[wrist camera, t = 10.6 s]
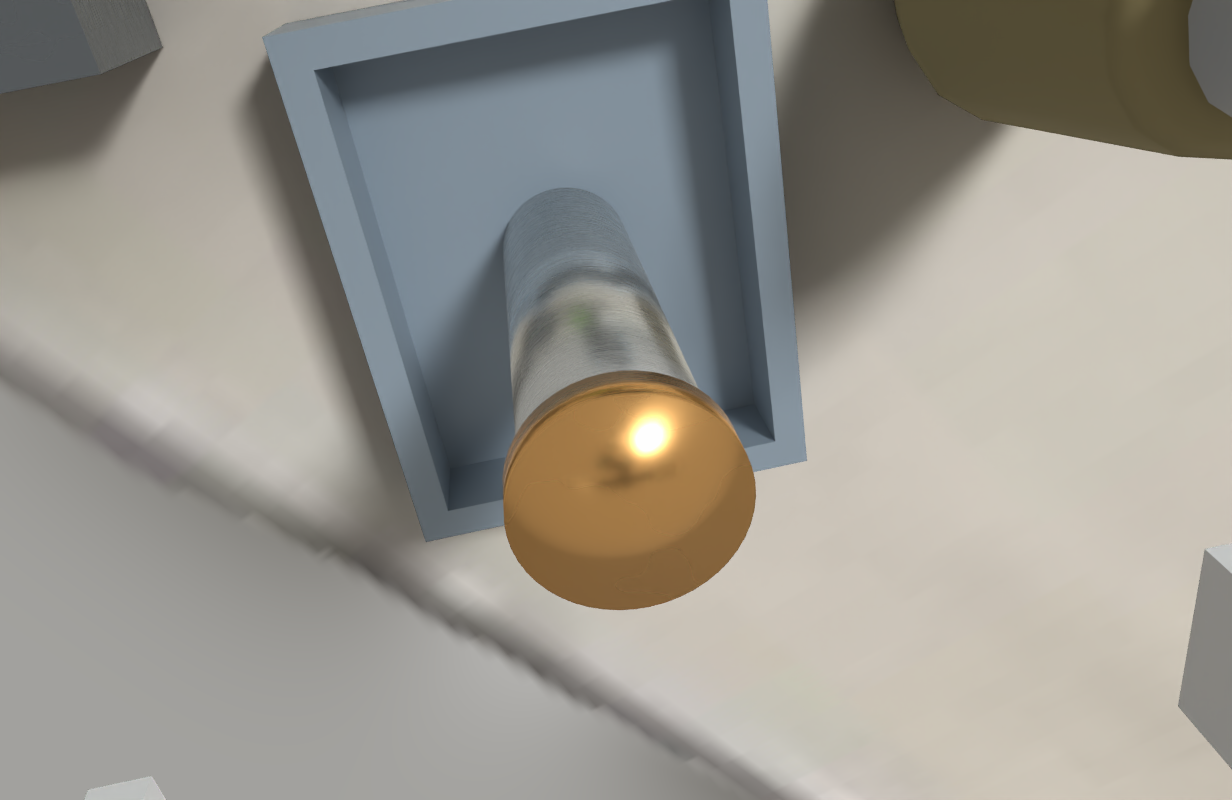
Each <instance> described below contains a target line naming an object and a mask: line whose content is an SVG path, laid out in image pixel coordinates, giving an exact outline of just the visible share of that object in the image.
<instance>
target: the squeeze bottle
mask: <svg viewBox="0 0 1232 800" xmlns="http://www.w3.org/2000/svg"><path fill="white" fill-rule="evenodd" d="M894 2H895V8H896V14H897V18H898V21H899V24H900V26H901V29H902V32H903V35H904V38H905V40H906V43H907V46H908V49H909V51H910V52H911V54H912V56H913V57H914V59H915V60H916V62H917V63H918V65H919V66H920V68H921V69H922V71H923V72H924V74H925V75H926V77H927V78H928V80H929V82H930V83H931V85H932V86H933V88H934V89H935V91H936V92H937V94H938V95H939V96H941V97H943V98H945V99H946V100H948V101H950V102H952V103H953V104H955V105H957V106H959V107H960V108H962V109H964V110H966V111H967V112H969V113H971V114H973V115H974V116H976V117H978V118H980V119H981V120H986V121H992V122H997V123H1002V124H1008V125H1013V126H1018V127H1024V128H1029V129H1034V130H1040V131H1045V132H1050V133H1056V134H1061V135H1066V136H1072V137H1077V138H1082V139H1088V140H1093V141H1098V142H1104V143H1109V144H1114V145H1119V146H1125V147H1130V148H1135V149H1141V150H1146V151H1151V152H1157V153H1162V154H1167V155H1173V156H1178V157H1196V158H1215V159H1232V0H894Z"/></svg>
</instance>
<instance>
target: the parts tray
mask: <svg viewBox="0 0 1232 800" xmlns="http://www.w3.org/2000/svg"><path fill="white" fill-rule="evenodd" d="M262 38H263V41H264V44H265V47H266V50H267V53H268V57H269V60H270V63H271V66H272V69H273V72H274V75H275V78H276V81H277V84H278V87H279V90H280V94H281V97H282V100H283V103H284V106H285V109H286V112H287V115H288V118H289V121H290V124H291V127H292V131H293V134H294V137H295V140H296V143H297V146H298V149H299V152H300V155H301V158H302V161H303V164H304V168H305V171H306V174H307V177H308V180H309V183H310V186H311V189H312V192H313V195H314V198H315V201H316V205H317V208H318V211H319V214H320V217H321V220H322V223H323V226H324V229H325V232H326V235H327V238H328V242H329V245H330V248H331V251H332V254H333V257H334V260H335V263H336V266H337V269H338V272H339V275H340V279H341V282H342V285H343V288H344V291H345V294H346V297H347V300H348V303H349V306H350V309H351V312H352V316H353V319H354V322H355V325H356V328H357V331H358V334H359V337H360V340H361V343H362V346H363V350H364V353H365V356H366V359H367V362H368V365H369V368H370V371H371V374H372V377H373V380H374V383H375V387H376V390H377V393H378V396H379V399H380V402H381V405H382V408H383V411H384V414H385V417H386V420H387V424H388V427H389V430H390V433H391V436H392V439H393V442H394V445H395V448H396V451H397V454H398V457H399V461H400V464H401V467H402V470H403V473H404V476H405V479H406V482H407V485H408V488H409V491H410V494H411V498H412V501H413V504H414V507H415V510H416V513H417V516H418V519H419V522H420V525H421V528H422V531H423V535H424V538H425V541H426V542H428V541H433V540H438V539H442V538H447V537H452V536H456V535H461V534H466V533H470V532H475V531H480V530H484V529H489V528H494V527H498V526H503V525H504V510H503V483H502V477H503V469H504V463H505V459H506V456H507V452H508V449H509V447H510V445H511V443H512V440H513V438H514V436H515V426H514V412H513V397H512V382H511V367H510V352H509V337H508V322H507V307H506V292H505V277H504V262H503V240H504V235H505V231H506V228H507V226H508V223H509V221H510V220H511V218H512V216H513V215H514V213H515V212H516V211H517V210H518V208H519V207H520V206H521V205H522V204H523V203H525V202H526V201H527V200H529V199H530V198H532V197H533V196H535V195H537V194H539V193H541V192H544V191H547V190H550V189H554V188H563V187H571V188H578V189H582V190H586V191H589V192H591V193H594V194H596V195H597V196H599V197H601V198H602V199H604V200H605V201H606V202H607V203H609V204H610V205H611V207H612V208H613V209H614V210H615V211H616V212H617V214H618V215H619V217H620V219H621V221H622V222H623V225H624V227H625V229H626V231H627V233H628V236H629V238H630V240H631V242H632V244H633V247H634V249H635V251H636V253H637V255H638V257H639V260H640V262H641V264H642V266H643V268H644V271H645V273H646V275H647V277H648V279H649V282H650V284H651V286H652V288H653V290H654V292H655V295H656V297H657V299H658V301H659V303H660V306H661V308H662V310H663V312H664V314H665V316H666V319H667V321H668V323H669V325H670V327H671V330H672V332H673V334H674V336H675V338H676V341H677V343H678V345H679V347H680V349H681V351H682V354H683V356H684V358H685V360H686V362H687V365H688V367H689V369H690V371H691V373H692V376H693V378H694V380H695V382H696V384H697V386H698V389H700V390H701V391H702V392H704V393H705V394H707V395H708V396H709V397H710V398H711V399H712V400H713V401H715V402H716V403H717V404H718V405H719V406H720V408H721V409H722V410H723V411H724V413H725V414H726V415H727V417H728V418H729V420H730V422H731V424H732V425H733V427H734V429H735V431H736V433H737V435H738V437H739V439H740V441H741V443H742V445H743V447H744V449H745V451H746V453H747V455H748V458H749V461H750V463H751V466H752V469H753V472H756V471H761V470H765V469H770V468H775V467H779V466H784V465H789V464H794V463H798V462H803V461H807V456H806V445H805V433H804V421H803V410H802V398H801V386H800V375H799V363H798V352H797V340H796V328H795V317H794V305H793V294H792V282H791V270H790V259H789V247H788V235H787V224H786V212H785V201H784V189H783V177H782V166H781V154H780V142H779V131H778V119H777V108H776V96H775V84H774V73H773V61H772V49H771V38H770V26H769V15H768V3H767V0H405V1H399V2H394V3H389V4H384V5H379V6H374V7H368V8H363V9H358V10H353V11H348V12H343V13H337V14H332V15H327V16H322V17H317V18H312V19H306V20H301V21H296V22H291V23H286V24H284V25H282V26H281V27H279V28H277V29H275V30H274V31H272V32H270V33H269V34H267V35H265V36H263V37H262Z"/></svg>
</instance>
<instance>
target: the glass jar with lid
mask: <svg viewBox="0 0 1232 800" xmlns="http://www.w3.org/2000/svg"><path fill="white" fill-rule="evenodd" d="M503 262H504V277H505V292H506V307H507V322H508V337H509V352H510V367H511V382H512V397H513V412H514V426H515V436H514V438H513V440H512V443H511V445H510V447H509V449H508V452H507V456H506V459H505V463H504V469H503V477H502V483H503V510H504V525H505V530H506V535H507V538H508V541H509V544H510V547H511V549H512V551H513V553H514V555H515V556H516V558H517V560H518V562H519V563H520V564H521V566H522V567H523V568H524V570H525V571H526V572H527V573H528V574H529V575H530V576H531V577H532V578H533V579H534V580H535V581H536V582H537V583H539V584H540V585H541V586H543V587H544V588H545V589H547V590H548V591H550V592H552V593H554V594H555V595H557V596H559V597H561V598H563V599H566V600H568V601H571V602H573V603H576V604H580V605H584V606H587V607H592V608H599V609H608V610H628V609H638V608H645V607H651V606H654V605H658V604H662V603H665V602H668V601H671V600H673V599H676V598H678V597H681V596H683V595H685V594H687V593H689V592H691V591H693V590H694V589H696V588H697V587H699V586H700V585H702V584H704V583H705V582H707V581H708V580H709V579H710V578H712V577H713V576H714V575H715V574H716V573H718V572H719V571H720V570H721V569H722V568H723V567H724V566H725V565H726V564H727V563H728V562H729V560H730V559H731V558H732V556H733V555H734V554H735V553H736V551H737V550H738V548H739V547H740V545H741V543H742V541H743V540H744V538H745V536H746V534H747V531H748V529H749V527H750V524H751V521H752V517H753V513H754V508H755V499H756V488H755V479H754V474H753V469H752V466H751V463H750V461H749V458H748V455H747V453H746V451H745V449H744V447H743V445H742V443H741V441H740V439H739V437H738V435H737V433H736V431H735V429H734V427H733V425H732V424H731V422H730V420H729V418H728V417H727V415H726V414H725V413H724V411H723V410H722V409H721V408H720V406H719V405H718V404H717V403H716V402H715V401H713V400H712V399H711V398H710V397H709V396H708V395H707V394H705V393H704V392H702V391H701V390H700V389H698V386H697V384H696V382H695V380H694V378H693V376H692V373H691V371H690V369H689V367H688V365H687V362H686V360H685V358H684V356H683V354H682V351H681V349H680V347H679V345H678V343H677V341H676V338H675V336H674V334H673V332H672V330H671V327H670V325H669V323H668V321H667V319H666V316H665V314H664V312H663V310H662V308H661V306H660V303H659V301H658V299H657V297H656V295H655V292H654V290H653V288H652V286H651V284H650V282H649V279H648V277H647V275H646V273H645V271H644V268H643V266H642V264H641V262H640V260H639V257H638V255H637V253H636V251H635V249H634V247H633V244H632V242H631V240H630V238H629V236H628V233H627V231H626V229H625V227H624V225H623V222H622V221H621V219H620V217H619V215H618V214H617V212H616V211H615V210H614V209H613V208H612V207H611V205H610V204H609V203H607V202H606V201H605V200H604V199H602V198H601V197H599V196H597V195H596V194H594V193H591V192H589V191H586V190H582V189H578V188H571V187H563V188H554V189H550V190H547V191H544V192H541V193H539V194H537V195H535V196H533V197H532V198H530V199H529V200H527V201H526V202H525V203H523V204H522V205H521V206H520V207H519V208H518V210H517V211H516V212H515V213H514V215H513V216H512V218H511V220H510V221H509V223H508V226H507V228H506V231H505V235H504V240H503Z"/></svg>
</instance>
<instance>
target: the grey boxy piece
mask: <svg viewBox="0 0 1232 800" xmlns="http://www.w3.org/2000/svg"><path fill="white" fill-rule="evenodd" d="M162 47H163V46H162V44H161V41H160V38H159V36H158V33H157V30H156V28H155V25H154V22H153V19H152V17H151V14H150V11H149V9H148V6H147V3H146V1H145V0H0V94H1V93H6V92H12V91H17V90H22V89H27V88H32V87H37V86H42V85H48V84H53V83H58V82H63V81H68V80H73V79H79V78H84V77H89V76H94V75H99V74H102V73H105V72H107V71H109V70H112V69H114V68H116V67H119V66H121V65H123V64H125V63H128V62H130V61H132V60H135V59H137V58H139V57H142V56H144V55H146V54H149V53H151V52H153V51H155V50H158V49H160V48H162Z"/></svg>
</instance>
